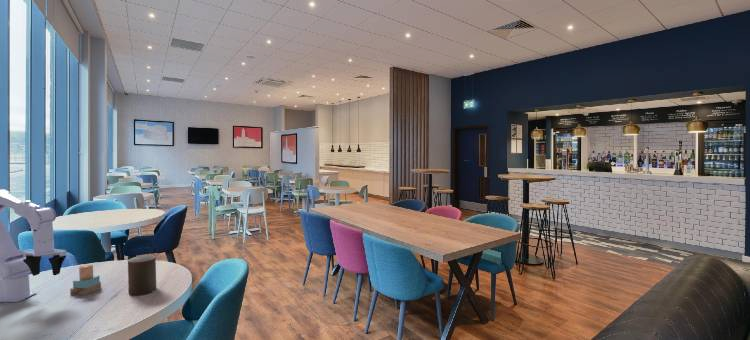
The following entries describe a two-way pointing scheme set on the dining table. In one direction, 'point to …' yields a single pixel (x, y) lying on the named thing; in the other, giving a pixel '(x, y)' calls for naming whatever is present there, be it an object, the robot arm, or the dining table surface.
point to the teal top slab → (86, 282)
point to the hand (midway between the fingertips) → (46, 274)
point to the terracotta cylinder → (86, 272)
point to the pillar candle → (141, 275)
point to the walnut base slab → (85, 290)
